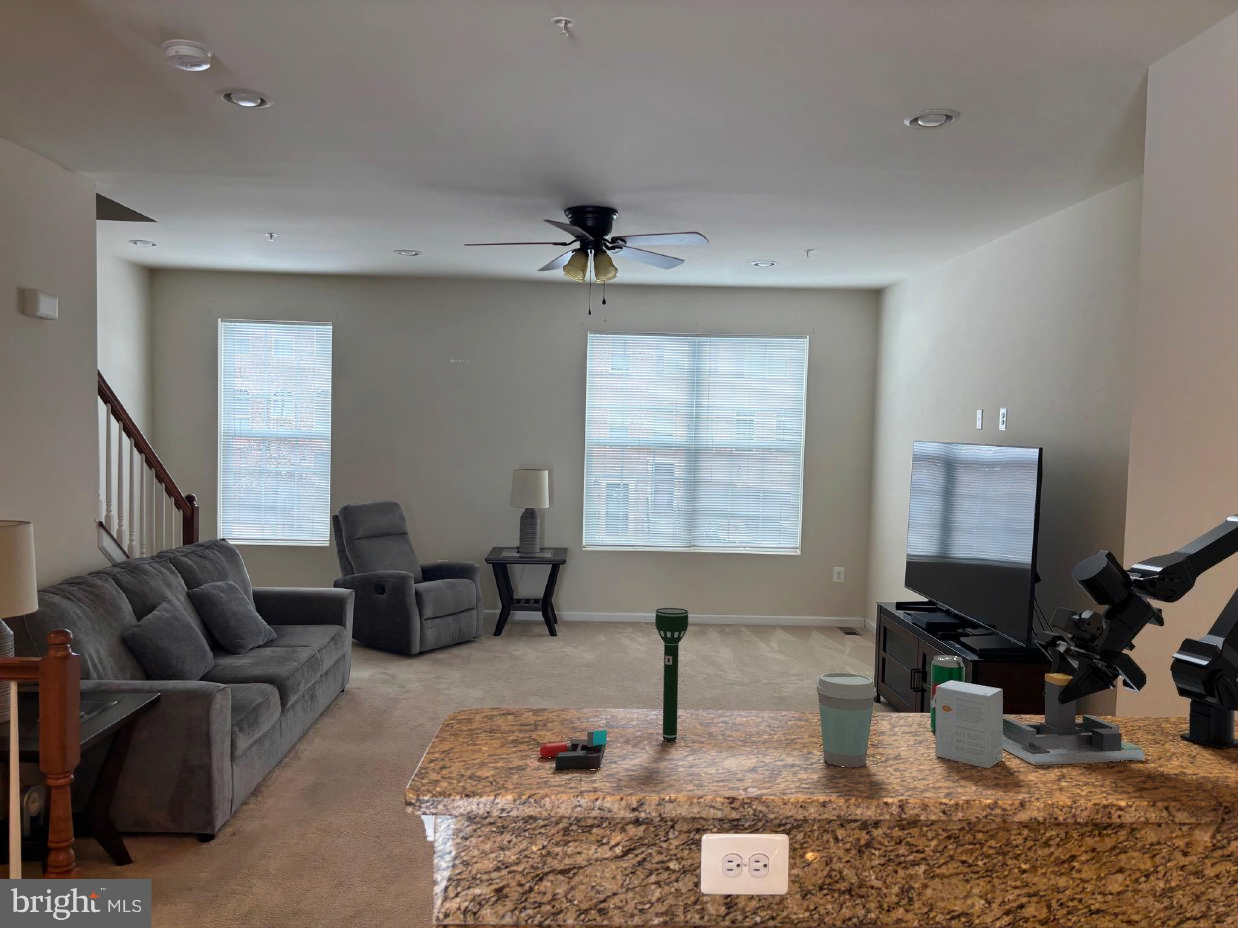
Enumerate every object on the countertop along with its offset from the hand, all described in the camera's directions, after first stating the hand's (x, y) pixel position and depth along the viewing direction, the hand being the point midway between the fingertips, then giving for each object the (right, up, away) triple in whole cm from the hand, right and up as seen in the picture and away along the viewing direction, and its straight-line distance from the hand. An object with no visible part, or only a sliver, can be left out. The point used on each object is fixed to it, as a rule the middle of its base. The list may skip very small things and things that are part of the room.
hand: (1052, 699), depth 134 cm
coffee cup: (-34, -7, -7) cm, 35 cm away
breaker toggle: (+1, -6, 0) cm, 6 cm away
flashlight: (-59, -7, +1) cm, 59 cm away
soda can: (-13, -8, +8) cm, 17 cm away
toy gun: (-73, -7, -8) cm, 74 cm away
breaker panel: (+1, -8, 0) cm, 8 cm away
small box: (-15, -8, -5) cm, 18 cm away
